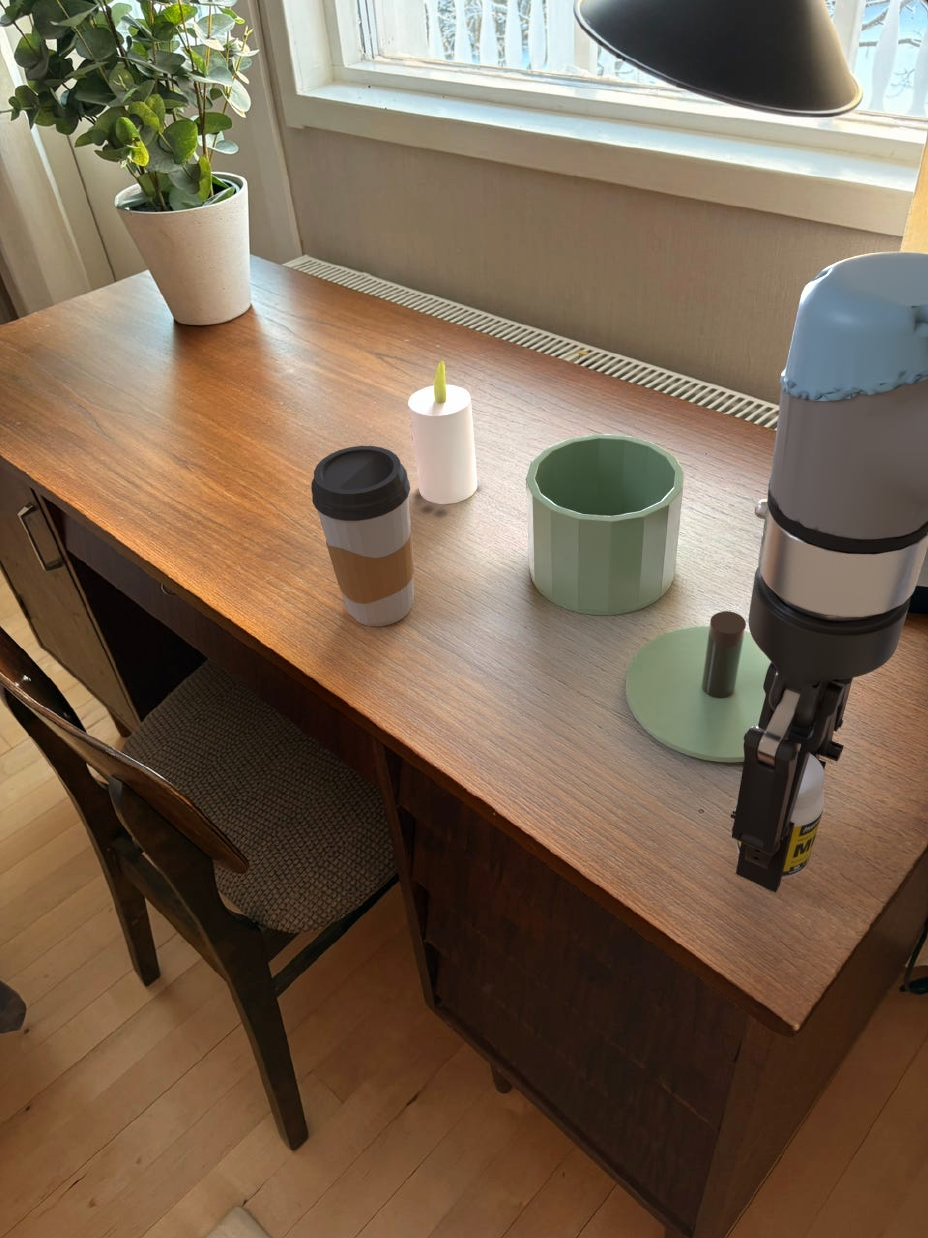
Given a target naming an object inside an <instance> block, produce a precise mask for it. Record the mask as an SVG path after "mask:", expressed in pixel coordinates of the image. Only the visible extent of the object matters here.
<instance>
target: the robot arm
mask: <svg viewBox="0 0 928 1238" xmlns="http://www.w3.org/2000/svg"><path fill="white" fill-rule="evenodd" d="M799 299H800V300H799V304H798V308H797V309H798V310H797V313H796V317H795V323H794V328H793V332H792V337H791V341H790V346H789V351H788V355H787V360H786V365H785V368H784V369H783V371H782V372H781V374H780V380H779V385H781V388H780V397H779V407H778V415H777V424H776V431H775V432H776V433H775V439H774V448H773V453H772V454H773V455H772V463H771V471H770V478H769V482H768V488H767V499H765V498H764V499H763V498H762V499H761V500H759V501H758V503H757V504H756V505H755V507H754V515H755V516H756V517H757V519H761V520H764V522H763V529H762V533H761V537H760V538H761V540H760V545H759V550H758V556H757V557H758V559H757V567H756V570H755V573H754V578H753V584H752V586H753V587H752V591H751V599H750V605H749V612H748V622H747V623H748V629H749V633H751V635H752V638H753V640H754V641H755V643H756V644H757V646H758V647H759V648H760V650H761V651H762V652H763V653H764V654H765V655H766V656H767V657H768V658H769V660H770V661H771V663H770V665H769V667H768V670H767V673H766V677H765V681H764V685H763V689H764V691H765V694H766V696H765V700H764V703H763V707H762V711H761V715H760V719H759V723H758V727H754V726H751V727H750V728H749V729H748V731H747V732H746V733H745V735H744V746H743V747H744V758H745V759H744V762H743V765H742V770H741V771H742V772H741V777H740V782H739V783H740V784H739V790H738V795H737V801H736V806H735V807H734V808H733V810H732V812H731V813H730V818H731V819H733V825H732V828H731V838H732V839H733V840H736V841H737V840H738V841H740V842H741V846H740V852H739V854H738V858H737V864H736V870H735V875H737V876H739V877H740V878H743V879H745V880H747V881H750V882H751V883H754V884H756V885H758V886H760V887H761V888H764V889H766V890H768V891H770V892H773V893H775V894H777V892H778V890H779V887H780V885H781V883H782V880H783V879H782V874H783V870H784V866H785V862H786V857H787V853H788V849H789V845H790V840H791V836H792V832H793V828H794V823H793V822H790V820H791V817H792V813H793V810H794V807H795V803H796V800H797V796H798V793H799V790H800V786H801V783H802V779H803V776H804V773H805V769H806V766H807V762H808V759H809V756H810V754H812V755H813V756H814V757H815V758H816V759H817V760H818V761H819V762H820V763H821V765H822V767H823V769H824V770H825V768H826V764H827V761H824V760H822V759H820V756H821V757H824V758H825V759H829V760H831V761H834V762H836V763H838V762H839V760H840V758H841V755H842V753H843V750H844V747H845V745H844V744H841V743H839V742H837V741H834V740H833V739H834V733H835V732H838V731H839V729H841V728H842V726H843V723H844V719H843V718H844V714H845V710H846V706H847V702H848V699H849V695H850V691H851V687H852V683H853V679H854V678H858V677H862V676H864V675H868V674H870V673H873V672H874V671H876V670H878V669H879V668H881V667H883V666H884V665H885V664H886V663H887V662H889V660H890V659H891V658H892V656H893V655H894V653H895V652H896V650H897V648H898V645H899V642H900V639H901V636H902V632H903V629H904V625H905V622H906V618H907V616H908V615H907V614H908V611H909V608H910V605H911V596H912V595H913V594H914V592H915V591H916V588H917V585H918V582H919V578H920V575H921V571H922V568H923V565H924V562H925V558H926V555H927V551H928V253H927V252H920V251H919V252H918V251H881V252H880V251H879V252H871V253H865V254H859V255H855V256H852V257H849V258H845V259H843V260H840V261H837V262H835V263H833V264H831V265H829V266H827V267H826V268H824V269H822V270H821V271H820V272H819V273H818V274H817V275H815V277H814V278H812V279H811V280H810V282H809V283H807V284H806V285H805V287H804V289H803V290H802V292H801V295H800V298H799Z"/></svg>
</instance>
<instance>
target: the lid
mask: <svg viewBox="0 0 928 1238" xmlns="http://www.w3.org/2000/svg"><path fill="white" fill-rule="evenodd" d="M746 627H747V622H746V620H745V618H744V617H743V616H742V615H741V614H739V613H737V612H735V611H729V610H722V611H718V612H715V613H714V614H713V615H712V616H711V618H710V620H709V625H697V626H688V627H683V628H678V629H675V630H672V631H669V632H665V633H663V634H662V635H659V636H657V637H655V638H653V640H650V641H649V642H648V643H646V644H645V645H644V646H642V647H641V649H640V650H638V652H637V653H636V654H635V656H634V657H633V659H632V660H631V662H630V664H629V667H628V669H627V673H626V677H625V695H626V700H627V704H628V707H629V710H630V711H631V713H632V715H633V716H634V718H635V719H636V721H637V722H638V723H639V725H640V726H641V727H642V728H643V729H644V730H645V731H646V732H647V734H649V735H651V736H652V737H653V738H654V739H655V740H657V741H658V742H660V743H661V744H662V745H665V746H666V747H668V748H670V749H672V750H674V751H675V752H678V753H681V754H684V755H686V756H690V757H692V758H696V759H700V760H704V761H710V762H716V763H717V762H718V763H744V759H745V758H744V747H743V746H744V735H745V733H746V732H747V731H748V729H749V728H750V727H751V726H754V727H758V723H759V719H760V715H761V711H762V707H763V703H764V700H765V696H766V694H765V691H764V689H763V685H764V681H765V677H766V673H767V670H768V667H769V665H770V663H771V661H770V660H769V658H768V657H767V656H766V655H765V654H764V653H763V652H762V651H761V650H760V648H759V647H758V646H757V644H756V643H755V641H754V640H753V638H752V635H751V632H750V631H747V630H746V629H747V628H746Z"/></svg>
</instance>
